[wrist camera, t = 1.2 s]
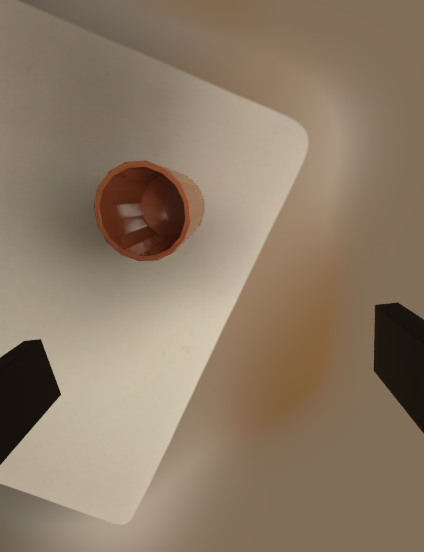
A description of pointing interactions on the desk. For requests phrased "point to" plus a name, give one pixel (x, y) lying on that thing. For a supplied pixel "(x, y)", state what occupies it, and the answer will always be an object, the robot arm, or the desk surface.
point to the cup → (147, 210)
